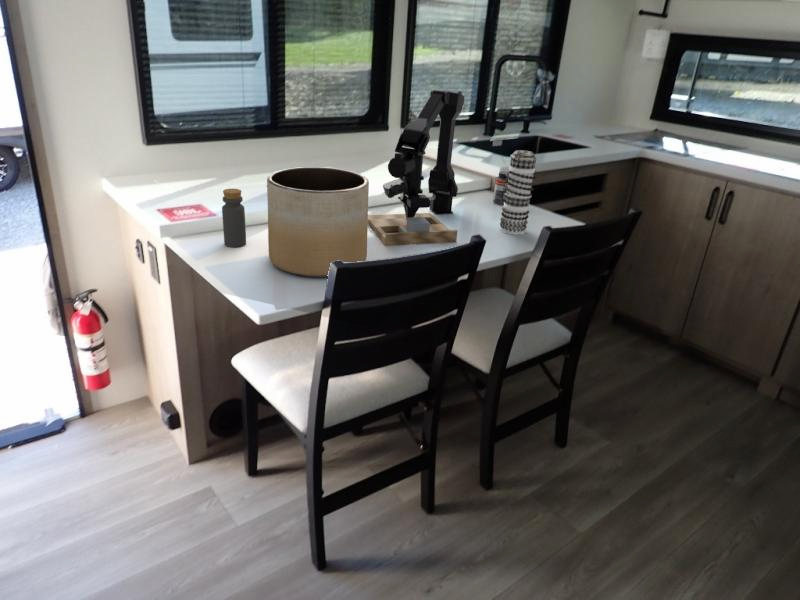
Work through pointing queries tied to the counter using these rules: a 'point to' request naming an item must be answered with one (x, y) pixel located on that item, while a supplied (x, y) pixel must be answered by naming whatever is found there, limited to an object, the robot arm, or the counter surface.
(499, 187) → the supplement bottle
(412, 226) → the block
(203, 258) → the counter surface
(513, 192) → the decorative candle
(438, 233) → the wooden compartment tray
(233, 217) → the bottle
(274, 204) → the planter
